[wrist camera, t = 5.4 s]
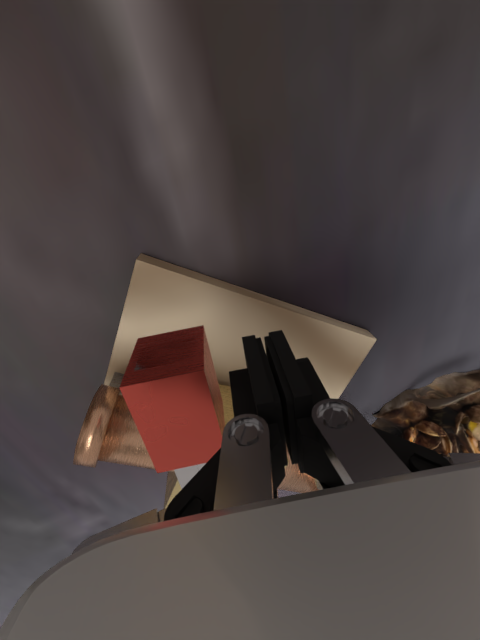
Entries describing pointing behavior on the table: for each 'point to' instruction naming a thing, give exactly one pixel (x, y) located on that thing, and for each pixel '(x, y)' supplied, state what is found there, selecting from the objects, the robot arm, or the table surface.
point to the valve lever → (175, 400)
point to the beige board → (232, 323)
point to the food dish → (437, 414)
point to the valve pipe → (129, 449)
